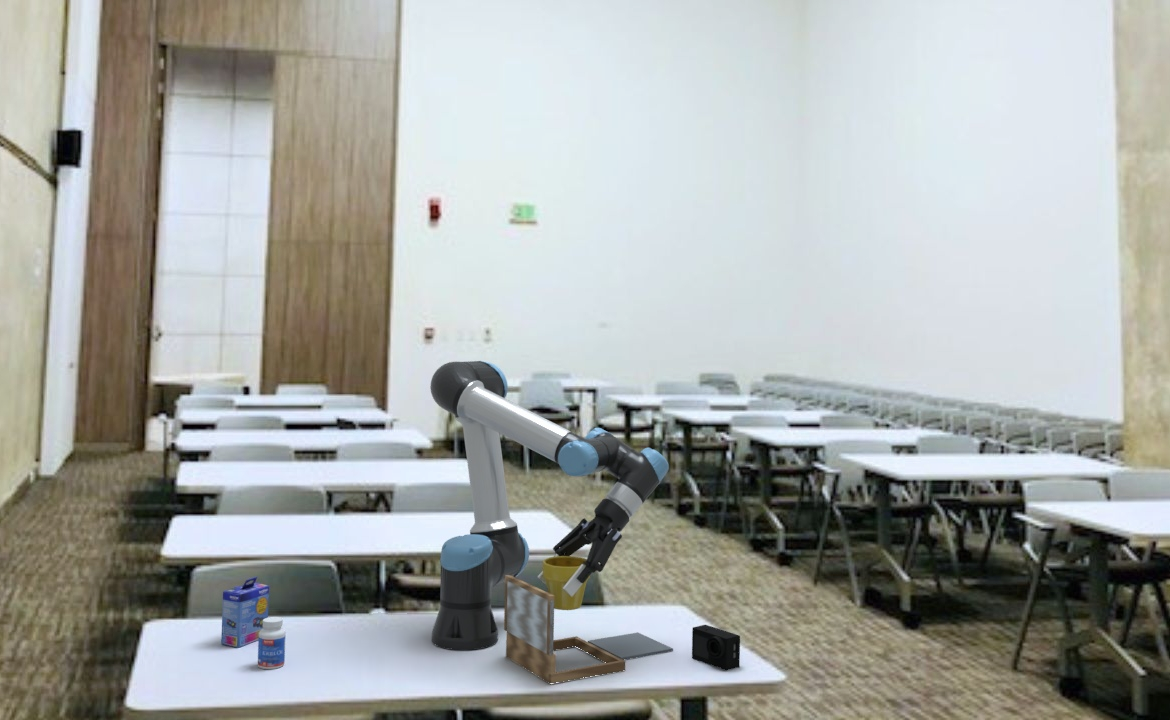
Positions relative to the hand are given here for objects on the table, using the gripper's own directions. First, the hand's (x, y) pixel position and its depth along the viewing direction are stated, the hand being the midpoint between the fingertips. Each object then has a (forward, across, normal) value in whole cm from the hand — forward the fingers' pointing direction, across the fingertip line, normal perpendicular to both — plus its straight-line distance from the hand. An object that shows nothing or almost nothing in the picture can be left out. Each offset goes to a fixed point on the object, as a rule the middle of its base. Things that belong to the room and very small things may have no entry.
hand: (554, 586), depth 208 cm
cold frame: (+10, 0, -14) cm, 17 cm away
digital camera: (-10, -15, -35) cm, 39 cm away
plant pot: (+1, 0, -6) cm, 6 cm away
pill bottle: (+49, +28, +25) cm, 62 cm away
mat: (-4, +3, -27) cm, 28 cm away
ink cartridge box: (+50, +48, +25) cm, 74 cm away
